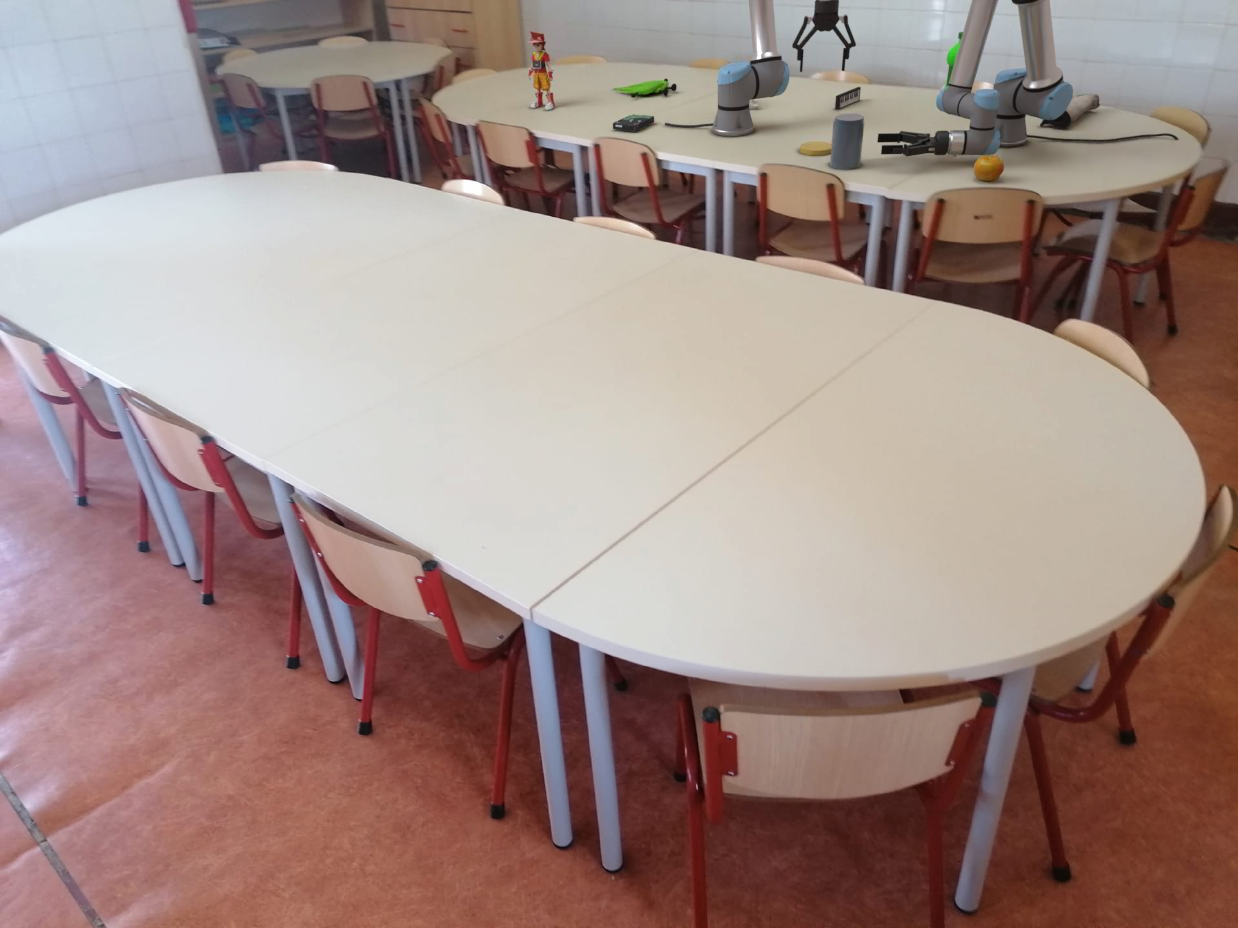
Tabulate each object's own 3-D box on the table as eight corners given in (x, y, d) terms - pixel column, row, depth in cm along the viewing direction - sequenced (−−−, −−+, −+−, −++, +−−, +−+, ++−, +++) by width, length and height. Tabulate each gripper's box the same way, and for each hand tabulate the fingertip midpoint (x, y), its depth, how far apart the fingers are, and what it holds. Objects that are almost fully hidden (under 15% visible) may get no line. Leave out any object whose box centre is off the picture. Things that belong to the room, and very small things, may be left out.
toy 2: (686, 85, 398) (631, 84, 414) (685, 72, 395) (629, 72, 411) (651, 104, 381) (596, 103, 397) (650, 92, 378) (594, 91, 394)
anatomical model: (725, 81, 368) (749, 74, 367) (729, 106, 374) (753, 100, 373) (732, 89, 356) (756, 82, 355) (736, 115, 362) (760, 109, 361)
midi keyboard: (837, 109, 354) (838, 96, 352) (834, 109, 355) (835, 95, 352) (859, 100, 365) (861, 87, 362) (857, 99, 366) (858, 86, 363)
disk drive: (635, 133, 342) (654, 123, 352) (635, 125, 340) (654, 115, 350) (612, 130, 346) (632, 120, 356) (612, 123, 345) (631, 113, 355)
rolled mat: (1067, 99, 337) (1091, 81, 329) (1080, 119, 338) (1105, 102, 330) (1036, 120, 320) (1061, 102, 312) (1050, 141, 321) (1075, 124, 312)
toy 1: (525, 109, 381) (517, 32, 364) (534, 104, 388) (527, 28, 371) (550, 110, 377) (543, 32, 360) (559, 105, 384) (553, 28, 367)
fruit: (968, 171, 273) (986, 147, 270) (968, 173, 280) (985, 150, 277) (991, 186, 271) (1009, 163, 268) (990, 188, 279) (1008, 165, 276)
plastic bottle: (973, 101, 354) (984, 32, 339) (955, 106, 349) (966, 36, 335) (952, 97, 361) (962, 29, 346) (934, 102, 356) (944, 33, 342)
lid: (838, 149, 311) (839, 144, 310) (821, 157, 304) (822, 152, 303) (810, 144, 317) (810, 139, 316) (793, 152, 311) (793, 147, 310)
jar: (836, 170, 291) (841, 122, 283) (825, 162, 299) (828, 115, 291) (865, 167, 293) (870, 119, 284) (852, 159, 301) (857, 112, 292)
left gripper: (787, 2, 283) (783, 74, 295) (868, -1, 279) (861, 72, 291) (787, -2, 289) (783, 69, 301) (866, -4, 285) (860, 67, 297)
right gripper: (951, 166, 280) (881, 167, 283) (940, 144, 300) (875, 145, 303) (955, 142, 275) (884, 142, 279) (943, 121, 296) (877, 122, 299)
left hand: (821, 70), depth 296 cm, fingers open, 13 cm apart
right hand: (879, 144), depth 291 cm, fingers open, 13 cm apart
